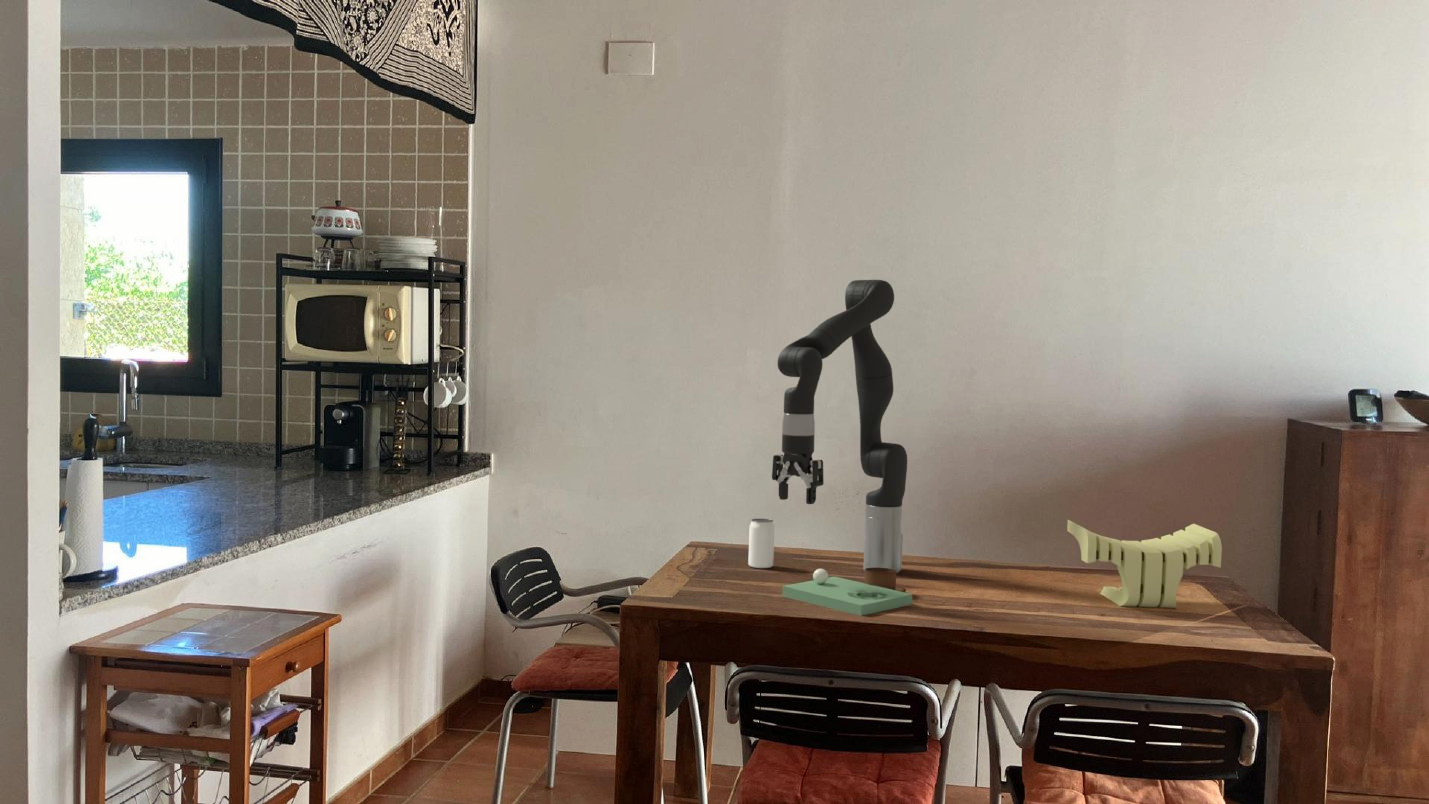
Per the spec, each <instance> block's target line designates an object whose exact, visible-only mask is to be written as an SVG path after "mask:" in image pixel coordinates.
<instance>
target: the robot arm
mask: <svg viewBox="0 0 1429 804" xmlns="http://www.w3.org/2000/svg"><path fill="white" fill-rule="evenodd" d="M844 300H845V301H844V302H845V310H844V311H842V312H840V313H837V314H835V315H833V316H831V317H828V318H827V319H826V320H823V322H821V323H820V324H819V325H818V326H817V327H815V328H814V329H813V330H812V331H811V332H810V333H808V334H807V335H805V336H803V337H801V338H799V339H797V340H794V341H793V342H791V343H790V344H788V345H787V346H785V347H784V348H783V349H782V350H781V351H780V353H779V354H778V357H777V368H778V370H779V372H780V374H782V375H784V376H786V377H789V378H799V379H798V382H797V384H796V386H794V387H790V388H787V389H786V390H784V395H783V416H782V417H783V418H782V427H781V431H782V433H781V434H782V435H781V451H782V453H783V454H774V455H773V456H772V457H773V458H772V467H771V468H772V472H771V480H772V481H776V482H777V484H778V497H779V500H782V501H783V500H784V501H785V500H788V498H789V483H788V482H789V480H790V479H791V477H794V476H796V477H798V478H801V480H802V481H803V482H804V483H805V486H806V489H805V490H806V493H805V495H806V497H805V501H806V502H805V503H806V504H807V505H813V504H815V503H816V501H817V488H819V487H820V486H823V485H824V461H823V460H822V459H816V460H815V459H814V460H813V454H814V452H815V432H816V431H815V429H816V428H815V426H816V423H815V395H816V392H817V388H818V385H819V381H820V378H821V375H822V370H823V360H824V359H827V358H828V357H829V356H830V355H832V354H833V353H834V352H835V351H836V350H837V349H838V348H840V347H841V346H842V345H843V344H844V343H845V342H846V341H847V340H849V339H850V338H851V342H852V350H853V358H854V371H855V383H856V393H857V400H858V410H859V411H858V412H859V429H860V430H859V432H860V434H859V435H860V436H859V440H860V441H859V445H860V446H859V447H860V448H859V449H860V450H859V451H860V452H859V453H860V454H859V455H860V465H861V469H862V471H863V473H864V474H865V475H866V476H867V477H871V478H877V479H882V483H881V486H880V487H879V488H877V489H875V490H872V491H869V492H867V494H866V497H865V515H864V517H865V518H864V519H865V521H864V538H863V539H864V540H863V541H864V543H863V544H864V546H863V568H862V570H863V571H864V572H865V569H866V568H889V569H894V570H896V574H899V573H900V571H902V568H903V567H902V565H903V533H902V515H903V513H902V511H903V499H904V496H905V493H906V492H905V491H906V481H907V471H908V454H907V451H906V449H905V447H904V446H903V445H901V443H900V444H899V443H893V442H883V441H882V434H881V433H882V432H881V430H882V429H881V428H882V425H881V424H882V420H883V417H884V415H885V414H886V412H887V409H888V407H889V405H890V403H891V401H892V398H893V396H894V378H893V368H892V365H891V363H890V360H889V358H888V357H887V355H886V353H885V352H884V350H883V349H882V347H881V346H880V345H879V343H878V341H877V339H876V338H875V336H874V333H873V329H872V324H873V323H874V322H876V321H877V320H879V319H881V318H882V317H885V316H886V315H887V314H888V313H889V312H890V311H891V309H892V308H893V305H894V303H895V302H894V301H895V292H894V289H893V287H892V284H891V283H889V282H888V281H886V280H884V279H856V280H852V281H850V282H849V283H848V284H847V287H846V289H845V294H844Z"/></svg>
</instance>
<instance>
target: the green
mask: <svg viewBox="0 0 1429 804" xmlns="http://www.w3.org/2000/svg"><path fill="white" fill-rule="evenodd" d="M913 595H914V594H912V593H910V592H909V593H907V592H900V591H896V590H891V589H887V588H883V587H878V586H873V585H869V584H865V582H859V581H856V580H853V579H852V580H851V579H847V578H843V577H838V576H828V580H827V581H826V582H825V583H823V584H818V583H816V582H815V581H814V579H812V580H809V581H808V580H807V581H804V582H797V583H792V584H786V585H782V593H781V596H782V597H784V598H787V599H792V600H794V601H801V602H804V603H808V604H813V605H816V606H819V607H824V608H827V609H828V608H829V609H832V610H836V611H840V612H844V613H848V614H852V615H857V616H860V617H861V616H867V615H870V614H874V613H875V614H876V613H879V612H883V611H888V610H889V611H890V610H893V609H897V608H902V607H907V606H911V605H913Z"/></svg>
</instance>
